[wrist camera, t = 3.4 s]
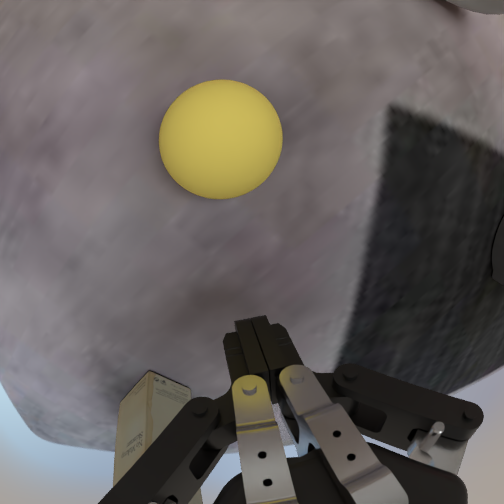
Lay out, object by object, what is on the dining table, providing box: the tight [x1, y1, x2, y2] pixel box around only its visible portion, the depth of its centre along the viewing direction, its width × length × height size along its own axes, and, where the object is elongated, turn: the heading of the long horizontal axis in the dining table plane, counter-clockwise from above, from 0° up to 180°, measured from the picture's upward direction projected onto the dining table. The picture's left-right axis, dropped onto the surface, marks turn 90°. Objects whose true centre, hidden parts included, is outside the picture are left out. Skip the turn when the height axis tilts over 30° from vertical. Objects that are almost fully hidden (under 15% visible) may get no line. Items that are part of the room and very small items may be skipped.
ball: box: [159, 80, 283, 199], centre depth 14 cm, size 6×6×6 cm
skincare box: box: [113, 371, 203, 504], centre depth 18 cm, size 6×4×12 cm
